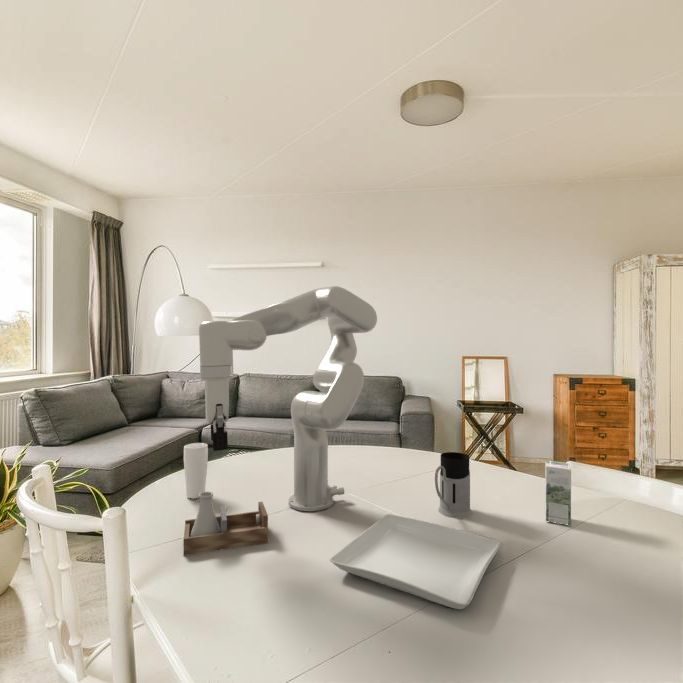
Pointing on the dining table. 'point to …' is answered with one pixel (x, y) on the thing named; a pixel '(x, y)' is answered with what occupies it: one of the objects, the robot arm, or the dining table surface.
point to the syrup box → (558, 492)
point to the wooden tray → (230, 533)
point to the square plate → (420, 559)
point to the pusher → (223, 520)
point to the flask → (205, 517)
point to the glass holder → (454, 485)
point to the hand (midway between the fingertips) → (219, 444)
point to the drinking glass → (195, 468)
